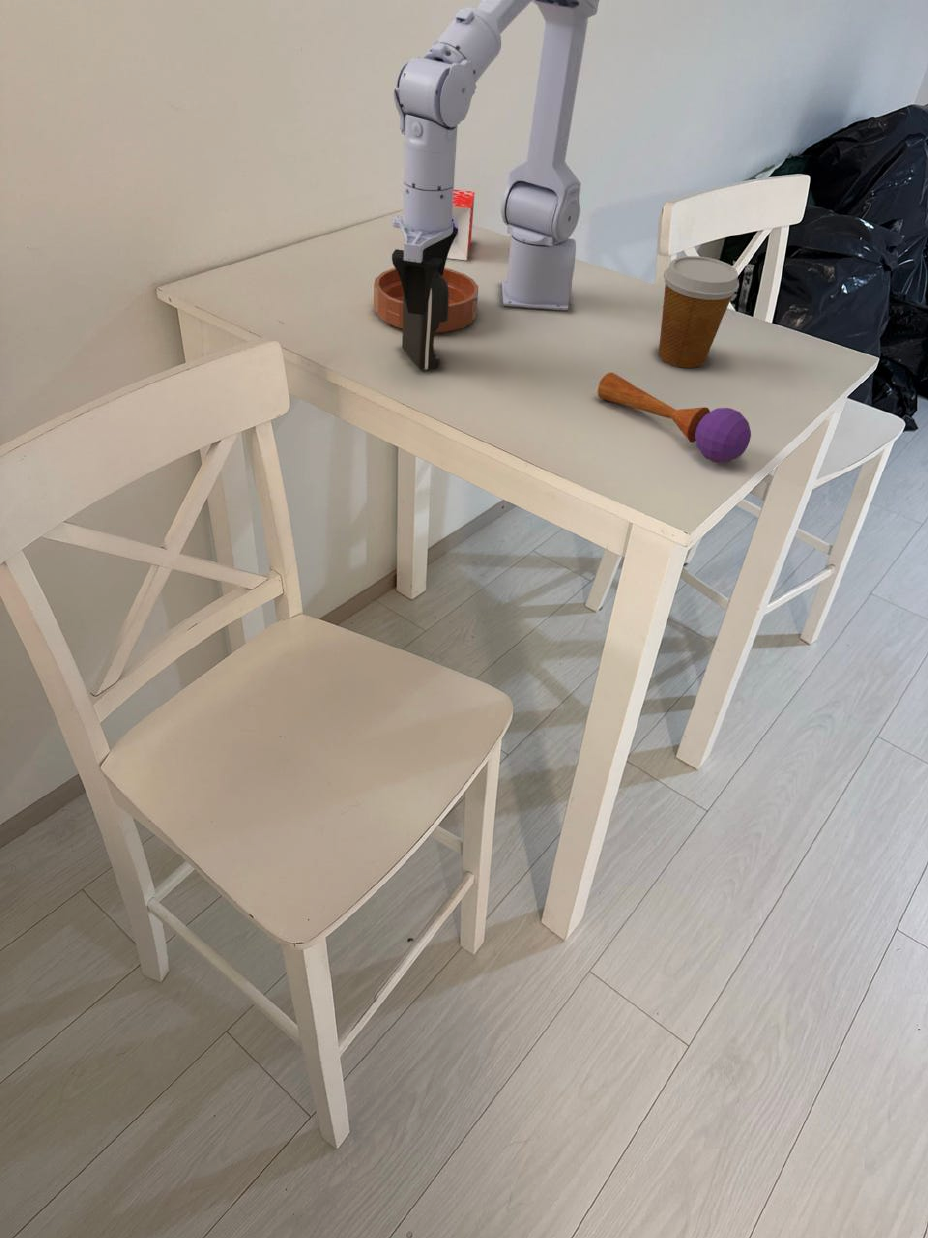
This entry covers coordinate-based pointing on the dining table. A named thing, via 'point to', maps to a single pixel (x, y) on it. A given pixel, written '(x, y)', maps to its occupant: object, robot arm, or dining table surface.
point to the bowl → (460, 299)
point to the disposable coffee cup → (694, 308)
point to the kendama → (687, 419)
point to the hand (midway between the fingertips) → (423, 300)
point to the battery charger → (426, 326)
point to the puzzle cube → (462, 223)
